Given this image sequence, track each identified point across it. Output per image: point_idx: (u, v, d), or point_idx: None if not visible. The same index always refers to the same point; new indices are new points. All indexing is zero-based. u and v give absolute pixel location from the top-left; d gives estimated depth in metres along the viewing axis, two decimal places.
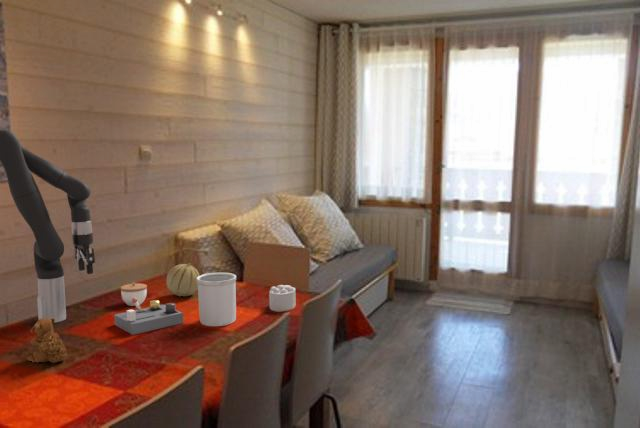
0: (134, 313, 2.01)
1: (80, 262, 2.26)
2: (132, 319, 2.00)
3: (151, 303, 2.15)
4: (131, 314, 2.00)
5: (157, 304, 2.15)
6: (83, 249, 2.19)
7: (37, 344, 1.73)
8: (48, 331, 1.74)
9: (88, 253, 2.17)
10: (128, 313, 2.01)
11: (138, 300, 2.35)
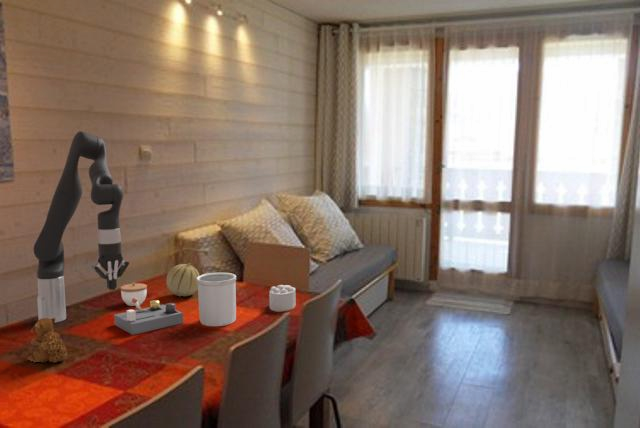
0: (134, 313, 2.01)
1: None
2: (132, 319, 2.00)
3: (151, 303, 2.15)
4: (131, 314, 2.00)
5: (157, 304, 2.15)
6: (119, 258, 1.96)
7: (37, 344, 1.73)
8: (48, 331, 1.74)
9: None
10: (128, 313, 2.01)
11: (138, 300, 2.35)
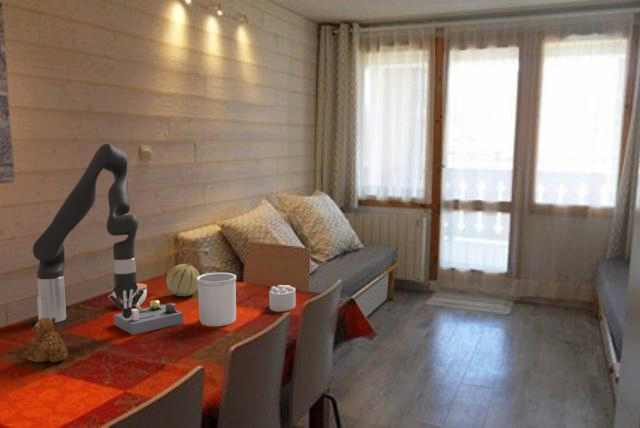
0: (137, 312, 2.02)
1: None
2: (136, 318, 2.01)
3: (151, 303, 2.15)
4: (135, 313, 2.01)
5: (157, 304, 2.15)
6: (134, 287, 2.00)
7: (38, 344, 1.74)
8: (49, 331, 1.74)
9: None
10: (132, 312, 2.02)
11: None
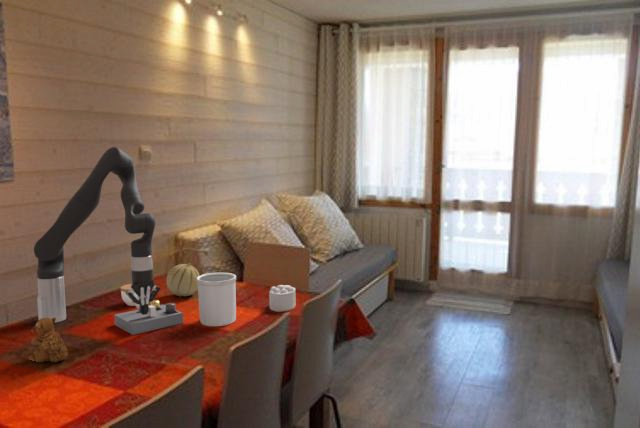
0: (154, 309, 2.06)
1: None
2: (152, 315, 2.06)
3: (151, 303, 2.15)
4: (151, 310, 2.05)
5: (157, 304, 2.15)
6: (151, 284, 2.05)
7: (38, 343, 1.74)
8: (49, 330, 1.74)
9: None
10: None
11: None
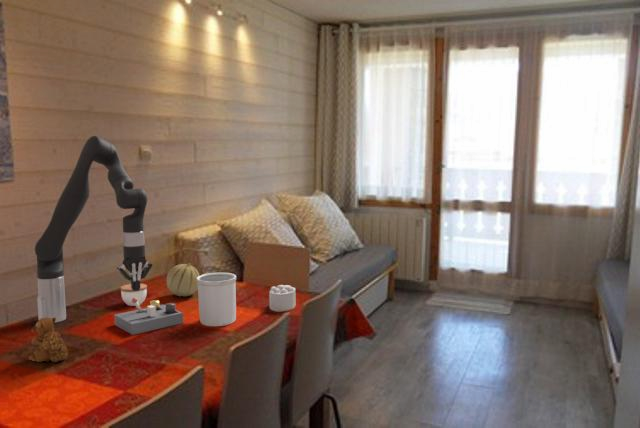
0: (154, 309, 2.06)
1: None
2: (152, 315, 2.06)
3: (151, 303, 2.15)
4: (152, 310, 2.05)
5: (157, 304, 2.15)
6: (143, 260, 2.03)
7: (38, 343, 1.74)
8: (49, 330, 1.75)
9: None
10: (149, 309, 2.06)
11: (138, 300, 2.35)
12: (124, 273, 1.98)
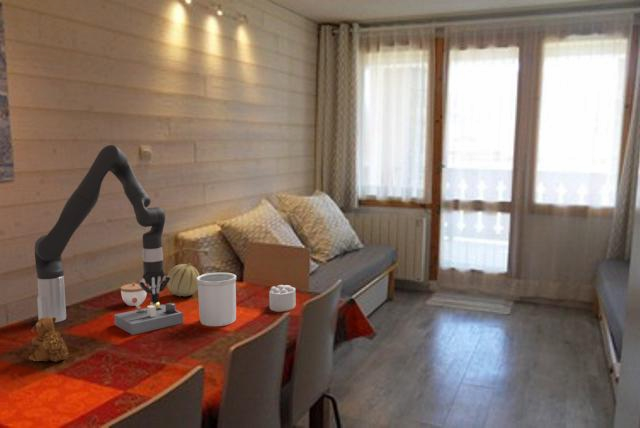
0: (154, 309, 2.06)
1: None
2: (152, 315, 2.06)
3: None
4: (152, 310, 2.05)
5: (157, 306, 2.15)
6: (161, 274, 2.16)
7: (38, 343, 1.74)
8: (49, 330, 1.75)
9: None
10: (149, 309, 2.06)
11: (138, 300, 2.35)
12: (144, 287, 2.12)
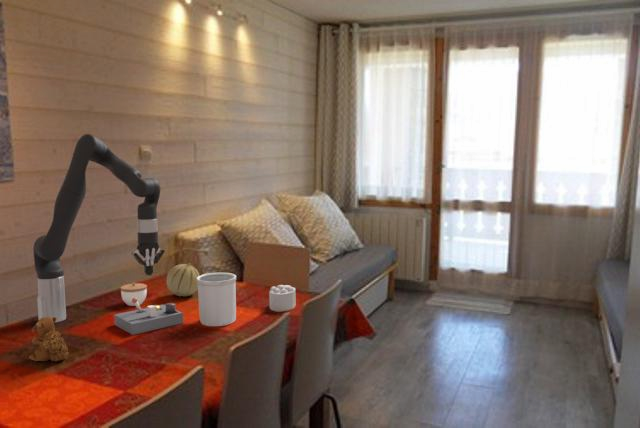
0: (154, 309, 2.06)
1: None
2: (152, 315, 2.06)
3: None
4: (152, 310, 2.05)
5: (157, 309, 2.15)
6: (155, 246, 2.14)
7: (39, 343, 1.74)
8: (50, 330, 1.75)
9: None
10: (149, 309, 2.06)
11: (138, 300, 2.35)
12: (138, 258, 2.10)
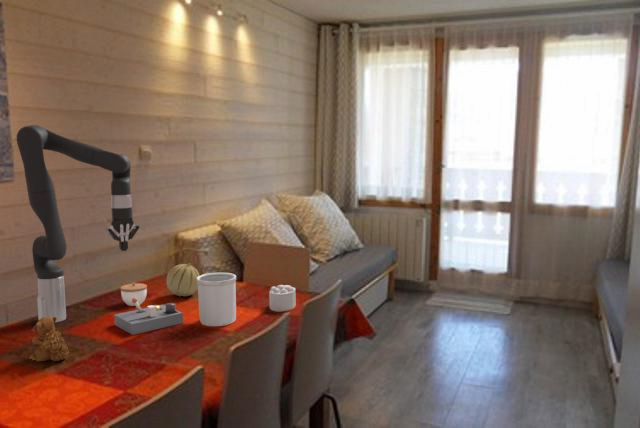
0: (154, 309, 2.06)
1: None
2: (152, 315, 2.06)
3: None
4: (152, 310, 2.05)
5: (157, 309, 2.15)
6: (130, 222, 2.15)
7: (39, 343, 1.75)
8: (50, 330, 1.75)
9: None
10: (149, 309, 2.06)
11: (138, 300, 2.35)
12: (112, 233, 2.11)
